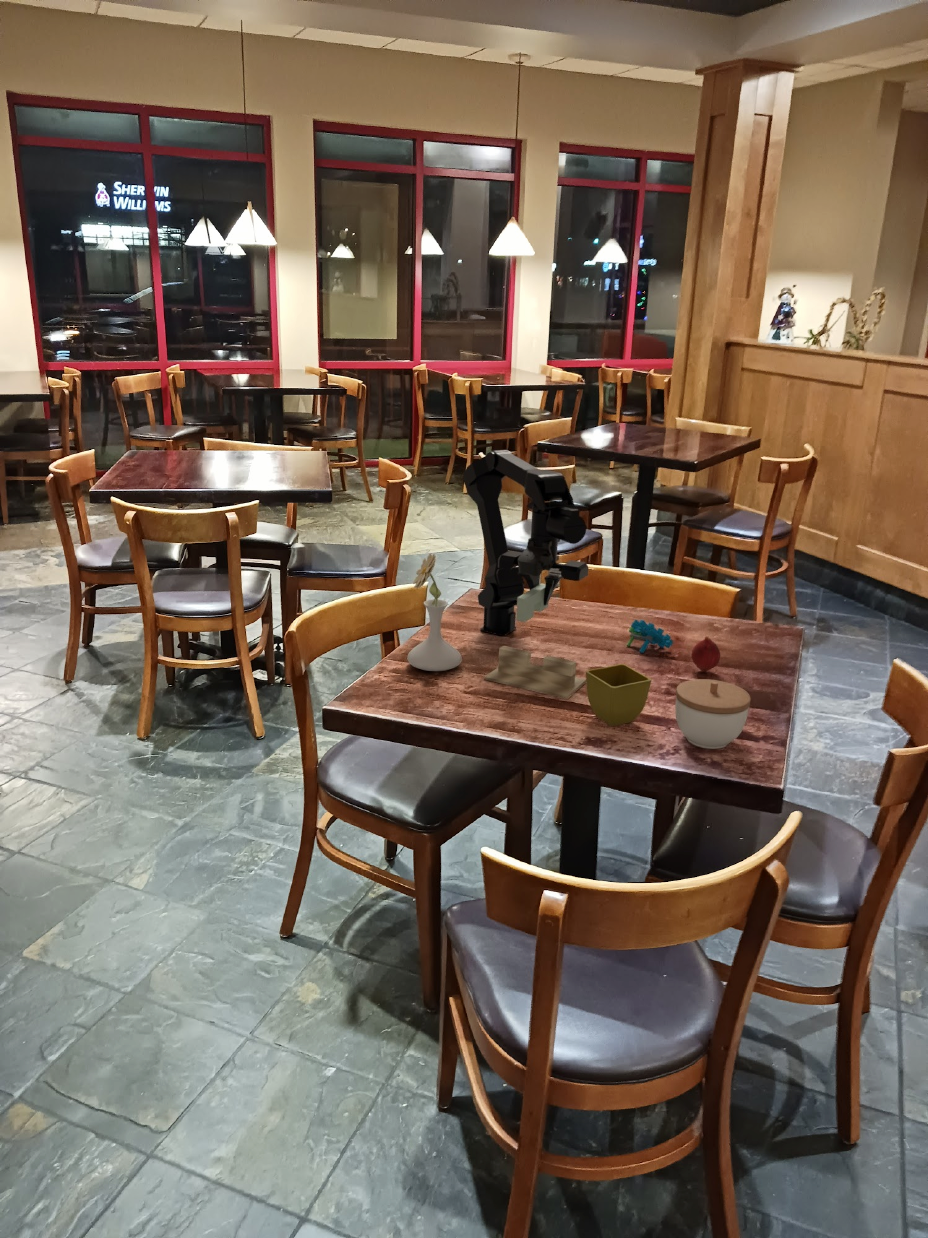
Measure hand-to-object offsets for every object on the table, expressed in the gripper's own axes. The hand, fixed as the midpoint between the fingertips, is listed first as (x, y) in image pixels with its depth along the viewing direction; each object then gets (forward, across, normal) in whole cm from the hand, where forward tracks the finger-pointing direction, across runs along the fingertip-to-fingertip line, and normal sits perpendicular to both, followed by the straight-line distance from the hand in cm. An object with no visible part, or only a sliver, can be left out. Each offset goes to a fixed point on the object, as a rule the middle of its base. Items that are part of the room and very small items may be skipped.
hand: (540, 603), depth 197 cm
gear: (+12, +20, +16) cm, 28 cm away
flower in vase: (+11, -15, -20) cm, 27 cm away
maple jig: (+11, +6, -15) cm, 20 cm away
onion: (+12, +34, +9) cm, 37 cm away
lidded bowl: (+12, +43, -23) cm, 50 cm away
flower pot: (+12, +26, -24) cm, 37 cm away
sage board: (+1, 0, -4) cm, 4 cm away
